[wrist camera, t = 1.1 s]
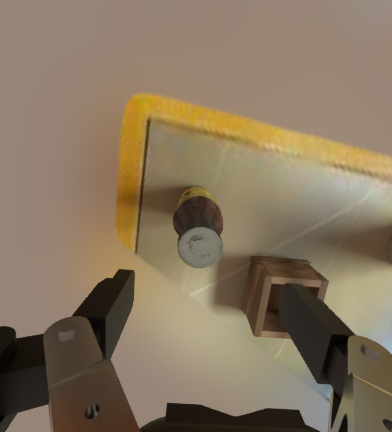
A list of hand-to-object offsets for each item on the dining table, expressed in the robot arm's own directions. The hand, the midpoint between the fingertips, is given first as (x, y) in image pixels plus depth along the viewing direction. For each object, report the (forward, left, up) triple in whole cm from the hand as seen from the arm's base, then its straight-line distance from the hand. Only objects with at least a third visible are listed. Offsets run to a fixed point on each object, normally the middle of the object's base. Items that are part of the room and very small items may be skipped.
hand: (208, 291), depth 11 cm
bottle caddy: (-17, +15, -27) cm, 35 cm away
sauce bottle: (0, 0, -27) cm, 27 cm away
